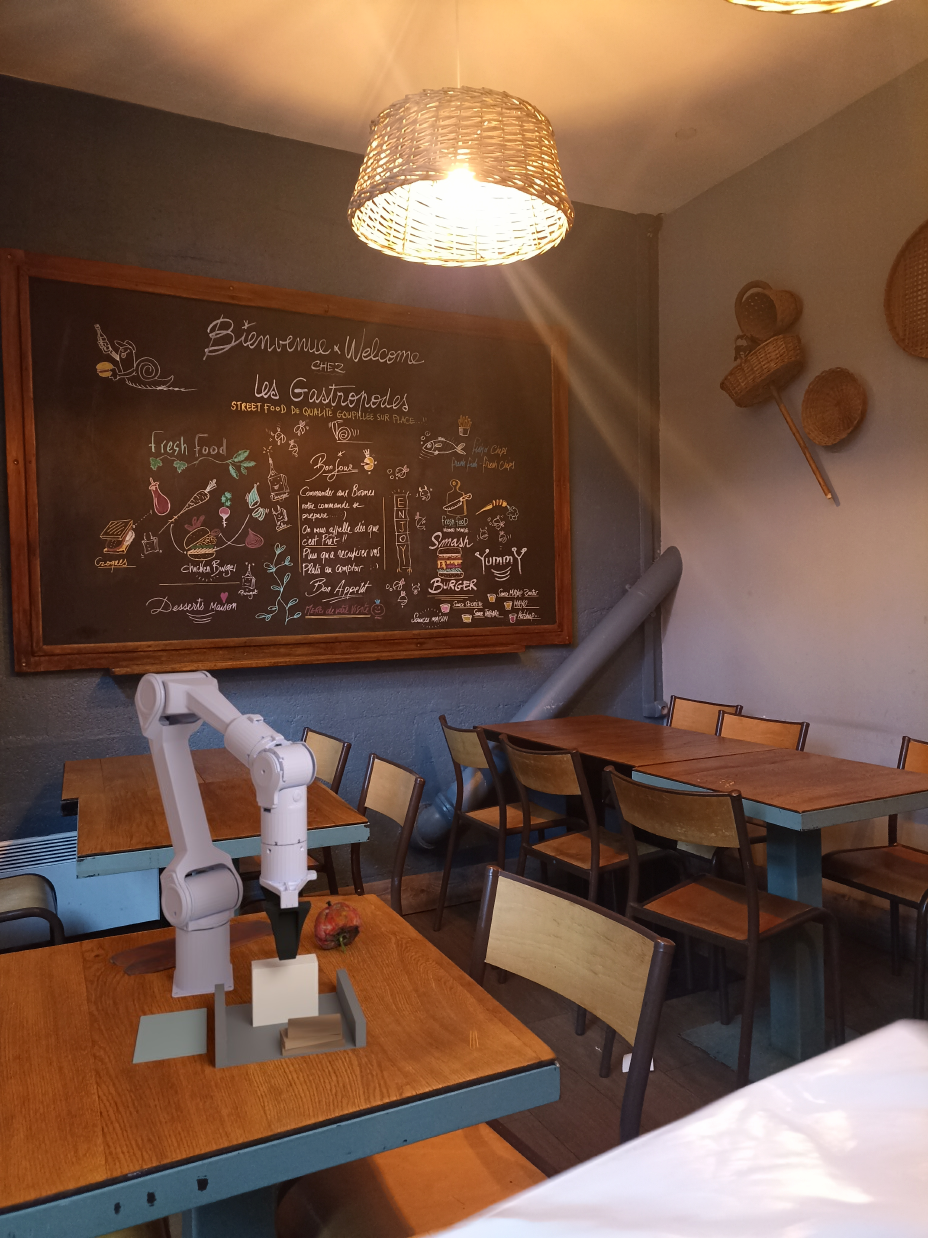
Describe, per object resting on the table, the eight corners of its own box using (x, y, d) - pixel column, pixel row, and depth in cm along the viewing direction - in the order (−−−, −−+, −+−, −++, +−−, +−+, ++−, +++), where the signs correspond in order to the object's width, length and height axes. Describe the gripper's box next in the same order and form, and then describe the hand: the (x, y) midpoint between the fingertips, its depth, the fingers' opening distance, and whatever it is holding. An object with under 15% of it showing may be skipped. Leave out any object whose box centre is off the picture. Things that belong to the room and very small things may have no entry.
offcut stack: (279, 1040, 102) (279, 1020, 102) (340, 1031, 104) (339, 1011, 104) (282, 1057, 98) (282, 1036, 98) (345, 1048, 100) (345, 1027, 100)
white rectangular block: (251, 1016, 109) (251, 961, 109) (315, 1008, 111) (315, 953, 111) (253, 1027, 106) (252, 970, 106) (318, 1018, 108) (318, 962, 108)
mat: (140, 1021, 109) (140, 1016, 109) (206, 1012, 111) (206, 1008, 111) (132, 1067, 97) (132, 1062, 97) (206, 1057, 99) (206, 1052, 99)
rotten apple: (368, 964, 132) (355, 909, 140) (368, 937, 128) (355, 882, 135) (320, 975, 130) (310, 919, 138) (318, 948, 126) (308, 891, 133)
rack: (214, 1011, 111) (214, 984, 111) (345, 994, 116) (345, 968, 116) (215, 1073, 96) (215, 1041, 96) (366, 1050, 101) (365, 1020, 101)
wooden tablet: (135, 984, 122) (135, 972, 122) (105, 964, 129) (105, 953, 129) (293, 935, 141) (293, 924, 141) (260, 920, 148) (260, 910, 148)
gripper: (323, 851, 103) (323, 965, 103) (309, 825, 117) (310, 925, 116) (262, 856, 101) (263, 972, 101) (256, 829, 115) (256, 931, 114)
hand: (284, 947), depth 108 cm, fingers open, 7 cm apart
